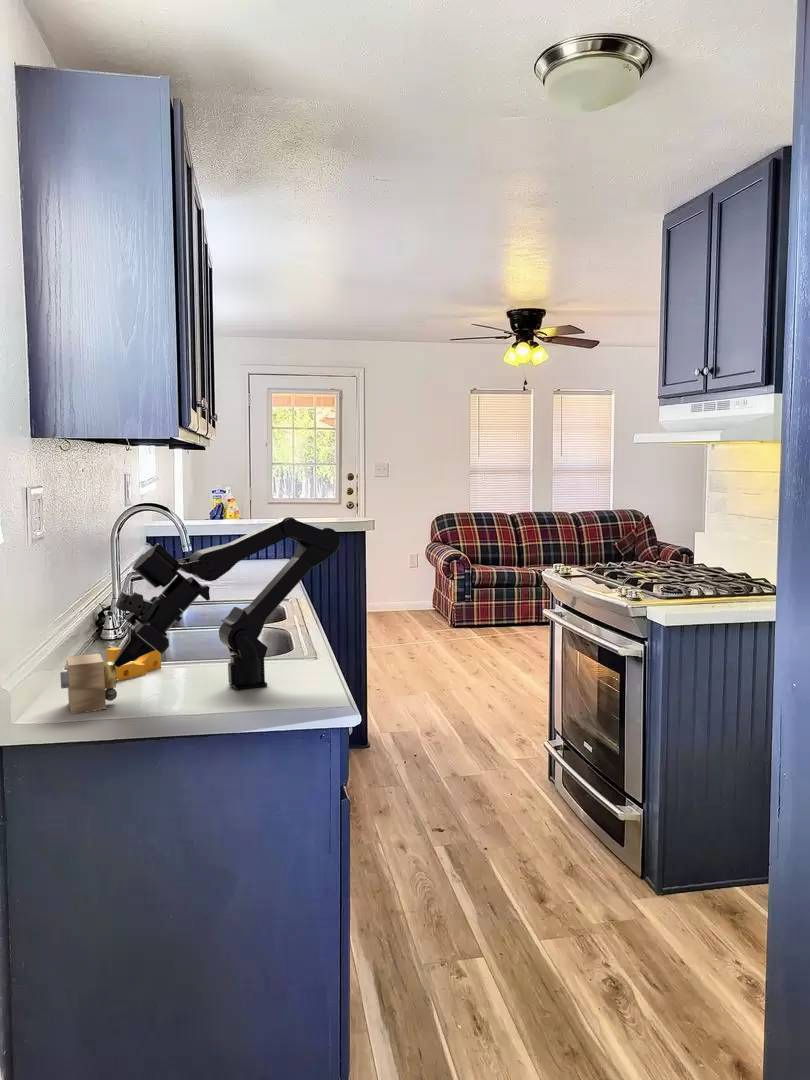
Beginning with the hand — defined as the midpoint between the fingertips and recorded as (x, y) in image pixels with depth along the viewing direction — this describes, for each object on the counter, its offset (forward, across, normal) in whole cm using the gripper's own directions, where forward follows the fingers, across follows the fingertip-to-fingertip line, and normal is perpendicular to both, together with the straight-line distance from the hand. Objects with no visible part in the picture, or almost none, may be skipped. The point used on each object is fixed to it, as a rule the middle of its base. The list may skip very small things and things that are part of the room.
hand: (115, 665), depth 159 cm
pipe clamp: (+1, -23, +10) cm, 25 cm away
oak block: (+9, 0, +1) cm, 9 cm away
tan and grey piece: (+8, 0, +1) cm, 8 cm away
